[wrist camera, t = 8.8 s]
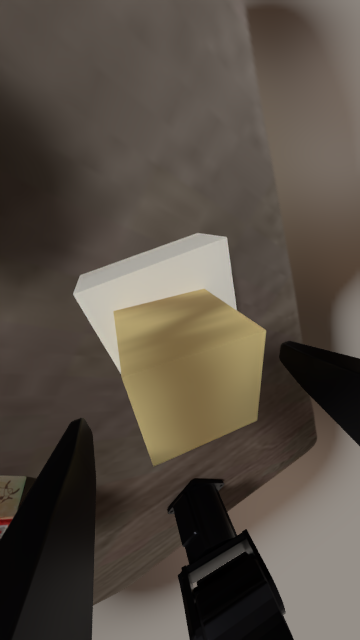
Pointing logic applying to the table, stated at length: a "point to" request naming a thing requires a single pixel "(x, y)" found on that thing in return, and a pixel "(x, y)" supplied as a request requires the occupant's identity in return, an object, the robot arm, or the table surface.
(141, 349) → the mustard cube
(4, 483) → the stack of blocks
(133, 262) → the ivory block
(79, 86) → the table surface
